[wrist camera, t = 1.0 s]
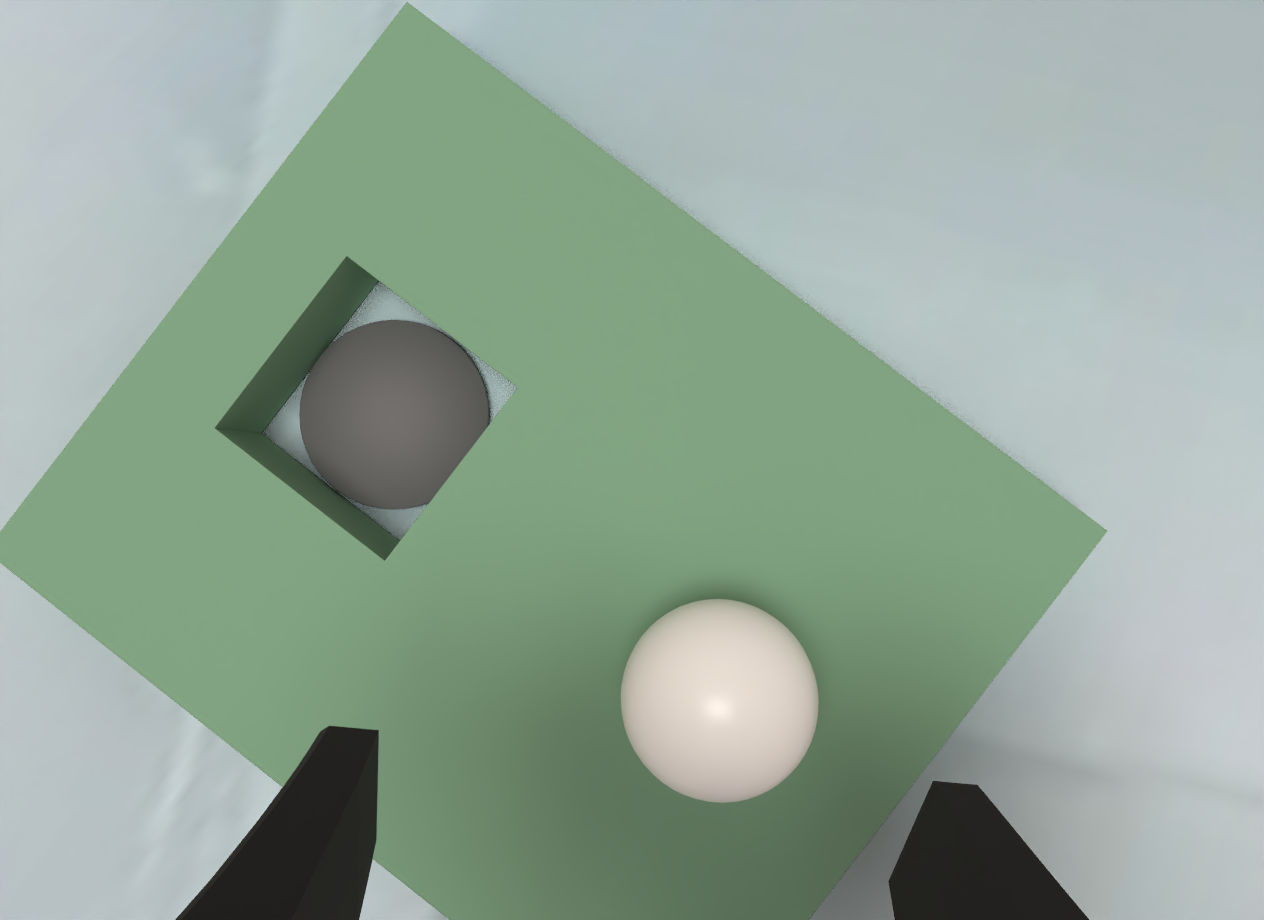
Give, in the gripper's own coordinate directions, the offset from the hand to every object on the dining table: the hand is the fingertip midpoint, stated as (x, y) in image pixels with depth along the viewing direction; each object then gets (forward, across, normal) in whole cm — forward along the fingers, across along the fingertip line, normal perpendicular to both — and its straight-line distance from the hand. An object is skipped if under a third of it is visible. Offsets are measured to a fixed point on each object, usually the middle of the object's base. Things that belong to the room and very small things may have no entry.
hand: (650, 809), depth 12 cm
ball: (+6, -2, +3) cm, 7 cm away
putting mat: (+11, +2, +4) cm, 12 cm away
